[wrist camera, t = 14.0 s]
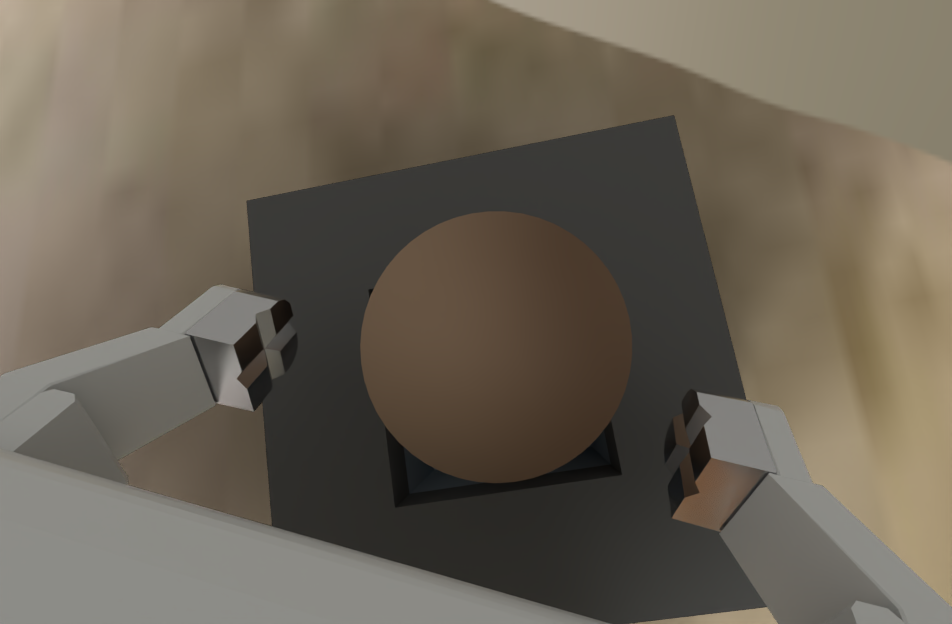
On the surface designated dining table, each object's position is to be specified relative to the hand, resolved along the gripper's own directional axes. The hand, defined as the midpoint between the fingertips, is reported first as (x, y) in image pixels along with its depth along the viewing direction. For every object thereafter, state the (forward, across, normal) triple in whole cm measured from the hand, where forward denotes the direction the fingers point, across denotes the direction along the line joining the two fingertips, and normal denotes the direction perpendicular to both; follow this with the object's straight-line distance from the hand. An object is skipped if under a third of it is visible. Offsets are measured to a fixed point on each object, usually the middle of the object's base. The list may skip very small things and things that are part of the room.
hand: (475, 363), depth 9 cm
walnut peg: (+5, 0, -5) cm, 7 cm away
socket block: (+6, 0, -6) cm, 8 cm away
